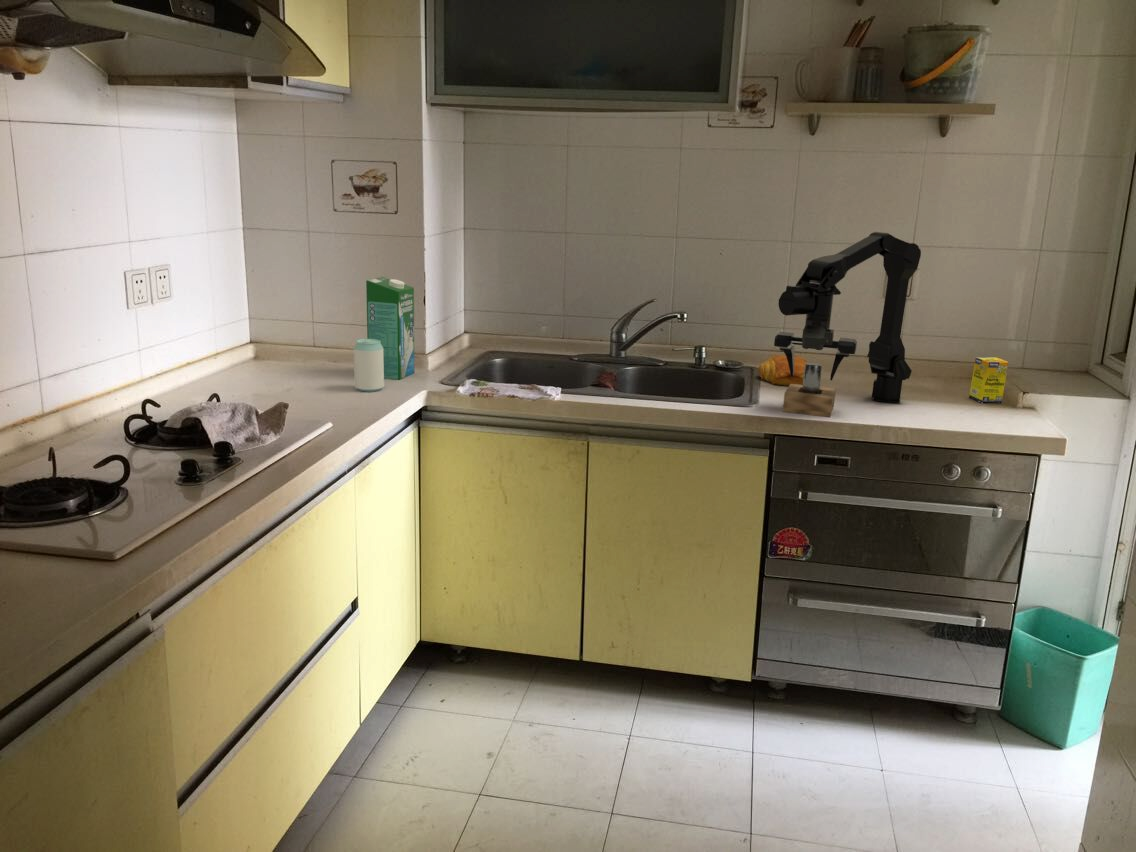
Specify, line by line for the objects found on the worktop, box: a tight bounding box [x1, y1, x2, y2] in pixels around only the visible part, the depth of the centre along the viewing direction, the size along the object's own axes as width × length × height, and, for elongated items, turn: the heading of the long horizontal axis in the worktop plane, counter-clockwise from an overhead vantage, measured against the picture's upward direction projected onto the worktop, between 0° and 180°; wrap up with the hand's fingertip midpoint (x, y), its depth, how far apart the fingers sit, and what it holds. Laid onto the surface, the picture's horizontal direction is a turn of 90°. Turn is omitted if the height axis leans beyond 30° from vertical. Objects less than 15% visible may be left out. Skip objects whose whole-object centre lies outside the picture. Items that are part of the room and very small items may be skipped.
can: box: [353, 338, 385, 393], centre depth 234 cm, size 7×7×12 cm
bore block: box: [782, 384, 837, 418], centre depth 232 cm, size 11×11×4 cm
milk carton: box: [365, 276, 415, 381], centre depth 247 cm, size 9×9×25 cm
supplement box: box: [968, 356, 1010, 404], centre depth 246 cm, size 6×6×11 cm
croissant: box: [757, 354, 809, 387], centre depth 261 cm, size 14×16×8 cm
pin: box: [802, 362, 823, 394], centre depth 231 cm, size 4×4×10 cm
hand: (811, 378), depth 230 cm, fingers open, 9 cm apart
